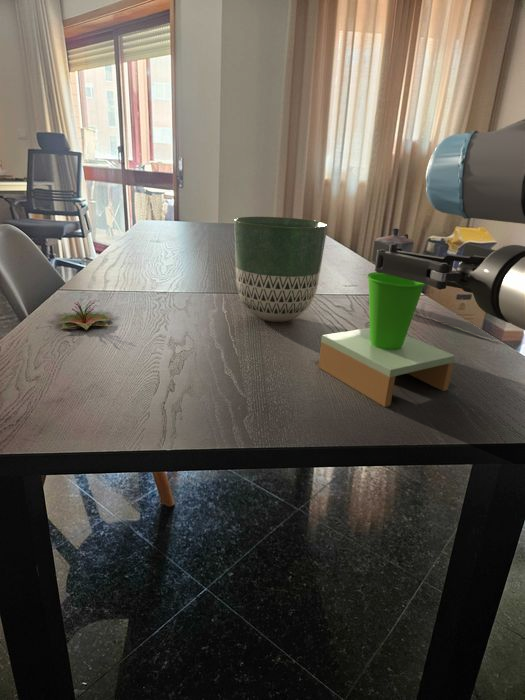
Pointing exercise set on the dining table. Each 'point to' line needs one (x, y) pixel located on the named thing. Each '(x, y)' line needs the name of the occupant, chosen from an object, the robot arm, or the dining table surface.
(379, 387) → the shelf
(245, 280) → the planter
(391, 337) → the cup
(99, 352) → the dining table surface
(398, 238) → the moka pot
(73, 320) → the lily flower
